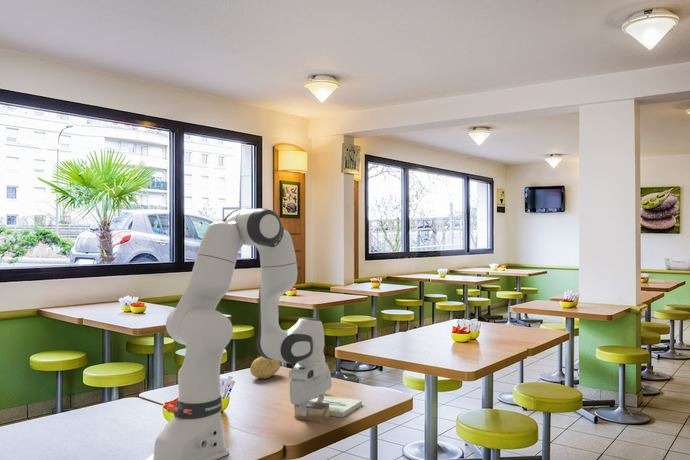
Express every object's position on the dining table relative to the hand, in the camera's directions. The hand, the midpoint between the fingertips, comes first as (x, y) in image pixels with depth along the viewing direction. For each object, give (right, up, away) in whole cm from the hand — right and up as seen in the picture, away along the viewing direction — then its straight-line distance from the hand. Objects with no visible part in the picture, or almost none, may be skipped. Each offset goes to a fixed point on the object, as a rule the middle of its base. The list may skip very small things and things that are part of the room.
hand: (312, 410), depth 178 cm
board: (+6, -2, +9) cm, 11 cm away
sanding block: (0, -2, 0) cm, 2 cm away
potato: (-23, -3, +51) cm, 56 cm away
